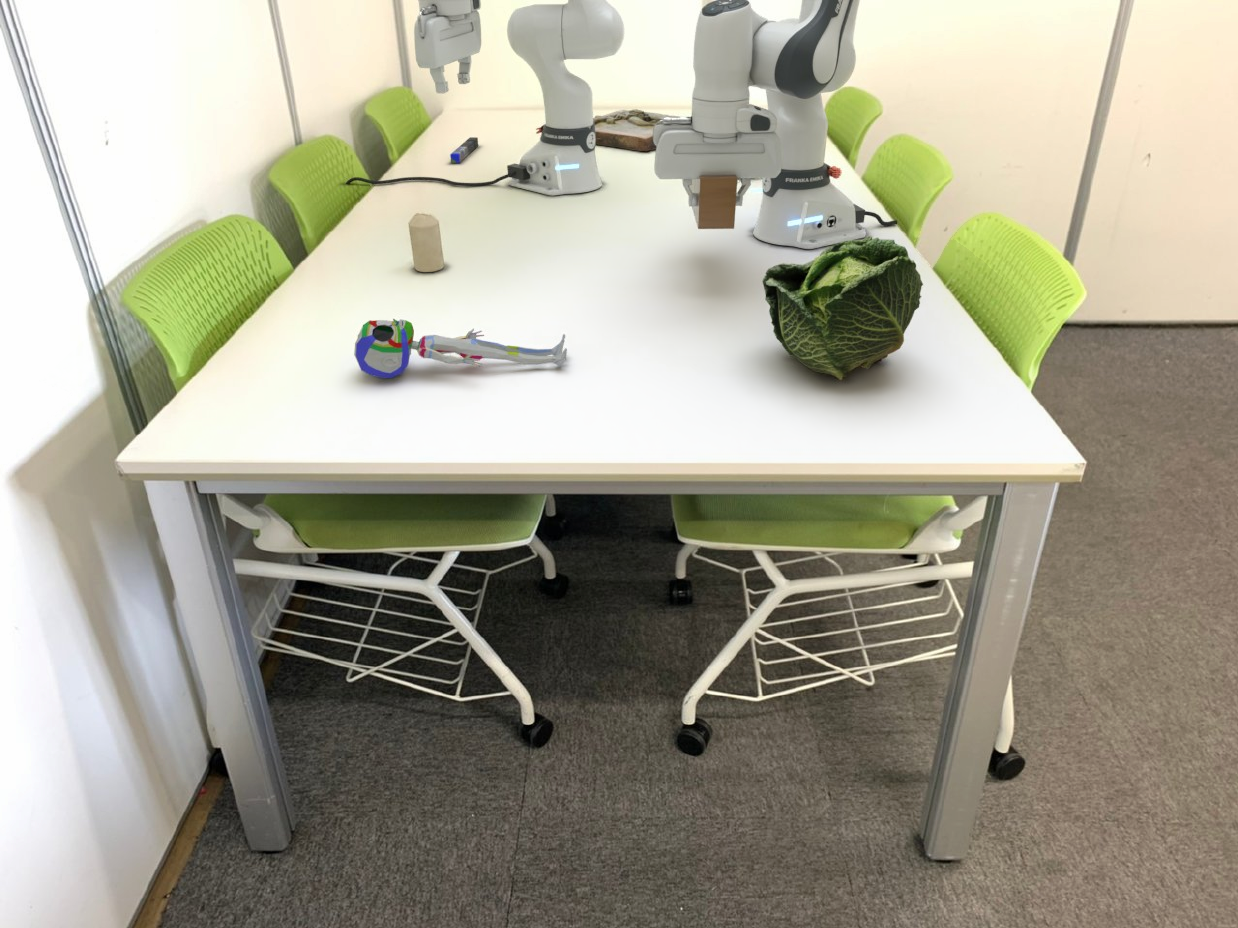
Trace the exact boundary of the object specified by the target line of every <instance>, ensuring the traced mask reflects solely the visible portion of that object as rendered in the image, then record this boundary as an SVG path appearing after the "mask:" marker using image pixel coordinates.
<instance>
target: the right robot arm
mask: <svg viewBox="0 0 1238 928" xmlns="http://www.w3.org/2000/svg"><path fill="white" fill-rule="evenodd" d="M860 3H861V0H801V6H800V12H799V17H798V18H795V17H792V18H786V19H782V20H779V21H776V20H769V19H768V18H766V17H764V16H762V15H760V14H759V13H757V12H756V11H755V10H754V9H753V8H752V5H751V2H750V1H749V0H713V1H710V2H708V3H707V4H705V5H704V6H702V8H701V10H700V11H699V14H698V17H697V22H696V26H695V32H694V33H695V34H694V41H693V56H692V57H693V60H692V65H693V66H692V67H693V72H694V76H695V78H694V86H693V88H692V89H693V90H692V93H691V116H679V117H678V118H671V117H665V118H663V120H660V121H658V122H657V123H656V124H655V125H654V128H653V142H654V144H655V145H656V146H657V147H656V149H655V153H654V165H653V166H654V167H653V168H654V169H653V171H654V175H655V176H656V177H657V178H658V179H659V180H681V183H682V187H683V189H684V190H685V192H686V194H687V197H688V198H687V203H688V207H692V206H698V202H697V201H698V195H697V193H692V191H691V189H690V187H689V186H691V185H692V179H699V176H712V175H736V176H737V179H739V181H740V183H741V186H740V187H739V189H738V191H737V193H736V207H741V206H742V207H743V200H744V196H745V195H746V193H747V191H748V190H749V188H750V187H751V185H752V184H751V182H752V179H762V184H761V185H762V187H761V188H759V187H758V188H750V193H751V194H753V193H762V197H761V204H760V209H759V213H758V217H757V220H756V223H755V226H754V229H753V231H752V234H753V236H754V237H755V238H756V239H758V240H759V241H762V242H765V243H768V244H772V245H778V246H785V247H787V246H788V247H795V248H800V249H805V250H813V249H817V248H822V247H827V246H831V245H832V246H833V245H835V244H837V243H838V242H844V241H848V240H860V239H865V238H866V235H867V232H866V229H865V227H864V226H863V225H861V224H862V223H865V216H869V217H872V218H875V219H876V220H877V222H878V223H879V224H880V225H881V226H884V227H890V226H892V225H893V226H894V225H897V224H898V220H896V219H895V220H894V219H893V220H890V221H885V220H883V218H882V217H881V216H880V215H879V214H877V213H876V212H874V211H873V212H872V211H867V210H866V209H864V208H862V207H860V206H859V205H858V204H855V203H853V201H852V200H851V199H850V198H849V197H848V196H847V195H846V194H844V193H843V192H842V191H841V190H840V189H839V188H838V187H836V186H835V185H834V184H833V183H832V182H831V177H832V178H833V179H839V178H840V177H841V176H842V169H841V168H840V167H837V166H836V165H833V166H831V165H829V164H827V163H825V156H826V148H827V137H828V130H829V129H828V128H829V121H828V117H827V114H826V111H825V108H824V103H823V98H822V94H824V93H825V94H826V93H832V92H834V91H835V92H836V91H837V90H839V89H840V88H842V87H843V86H844V85H846V84H847V82H849V80H850V78H851V77H852V75H853V73H854V71H855V68H856V67H855V66H856V61H857V55H856V49H855V45H854V37H855V29H856V22H857V16H858V11H859V8H860V7H859V6H860ZM750 87H753V88H758V89H761V90H765V94H766V103H767V108H764V107H761V106H758V105H754V104H752V103H750V94H751V93H750V89H749V88H750ZM660 123H663V124H660Z"/></svg>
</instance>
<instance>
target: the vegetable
mask: <svg viewBox="0 0 1238 928" xmlns="http://www.w3.org/2000/svg"><path fill="white" fill-rule="evenodd" d="M895 241H896V240H895V239H886V238H885V239H883V238H879V237H875V238H873V236H867V237H865V238H863V239H855V240H848V241H844V242H838V243H836V244H832V246H831V245H830V246H829V247H827V248H826V249H824V250H822V252H821V253H820V254H819V255H818V256H816V257H815V258H814V260H811V261H808V262H806V263H804V264H799V263H786V262H785V263H784V262H782V263H779V264H775V265H774V266H772V267H769V268H768V269H767V270H766V271H765V275H764V277H763V279H762V285H763V289H764V292H765V294H764V295H765V299H764V300H765V301H766V302H767V304H768V305H769V309H768V310H769V316H770V319H771V324H772V326H773V330H772V332H773V334H774V336H775V338H776V339H777V340H778V342H779V343H780V344H781V346H782V347H783V348H784V350H785V351H786V353H787V354H788V355H789V356H795V358H796V359H797V360H798V361H799V362H800V363H801V364H802V365H804V366H805V367H807V368H809V369H810V370H812V371H814V372H817V373H820V374H824V375H831V376H833V377H835V378H836V379H837V380H839V381H842V380H843V378H844V377H848V375H847V373H849V372H851V371H853V370H854V369H855V368H857V367H861V368H864V369H870V368H871V367H872V366H873V364H874V363H879V362H882V361H883V360H885V359H886V358H887V357H888V356H889V355H891V354H893V353H895V352H896V351H898V350H900V349H901V348H902V346H903V344H904V342H905V336H904V334H905V332H906V330H907V329H908V327H909V325H910V323H911V322H912V319H913V317H914V314H915V311H916V310H918V309H919V308H920V304H921V301H920V299H921V298H922V295H921V291H922V286H924V283H923V281H922V279H921V278H922V277H921V274H920V272H919V271H918V270H917V264H916V262H915V260H914V259H911V258H910V257H909V253H908V250H907V248H906V247H905V246H902V245H900V244H897V243H896V242H895Z"/></svg>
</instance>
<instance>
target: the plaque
mask: <svg viewBox="0 0 1238 928" xmlns="http://www.w3.org/2000/svg"><path fill="white" fill-rule="evenodd" d="M665 117H671V118H678V117H680V116H679V115H669V114H663V113H659V112H650V111H644V110H642V109H637V108H636V109H635V108H634V109H630V110H629V109H620V110H616V111H613V112H610V113H608V114H602V115H594V117H593V123H594V124H595V133H596V144H595V145H597V146H598V145H599V146H607V147H612V148H620V149H625V150H632V151H640V152H648V151H654V150H656V147H657V146H656V145H655V144H654V142H653V128H654V125H655V124H656V123H657V122H658V121H660V120H663V118H665ZM660 124H663V123H660Z"/></svg>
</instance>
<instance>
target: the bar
mask: <svg viewBox="0 0 1238 928" xmlns="http://www.w3.org/2000/svg"><path fill="white" fill-rule="evenodd" d="M689 187H690V189H691V191H692V193H697V195H698V201H697V202H698V206H691V209H692V212H693V216H694V220H695V223H696V225H697V226H696V227H697V230H734V229H735V222H736V208H737V206H736V193H738V191H737V190H738V178H737V176H736V175H712V176H699V179H692V185H691V186H689Z"/></svg>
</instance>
